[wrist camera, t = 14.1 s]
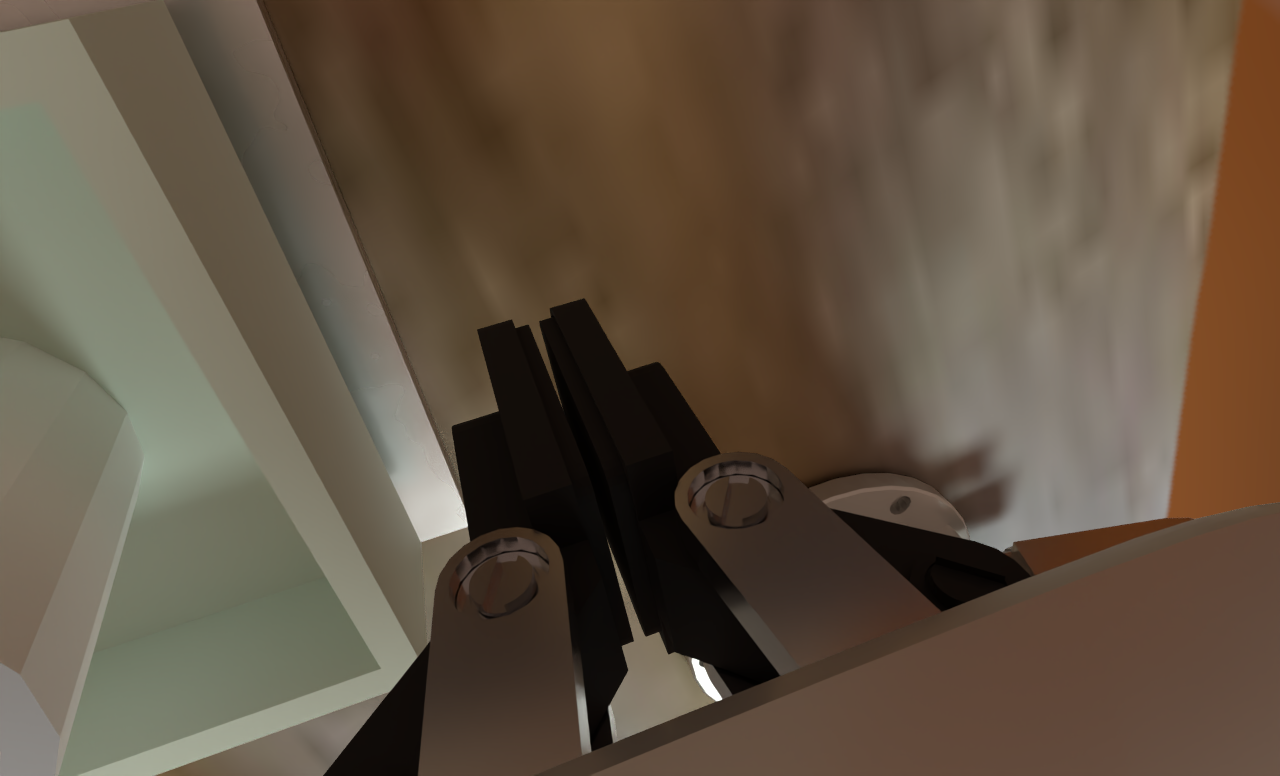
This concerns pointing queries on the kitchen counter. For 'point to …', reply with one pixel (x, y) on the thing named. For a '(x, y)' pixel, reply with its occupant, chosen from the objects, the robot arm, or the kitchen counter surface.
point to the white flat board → (306, 232)
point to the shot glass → (55, 544)
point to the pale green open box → (195, 407)
